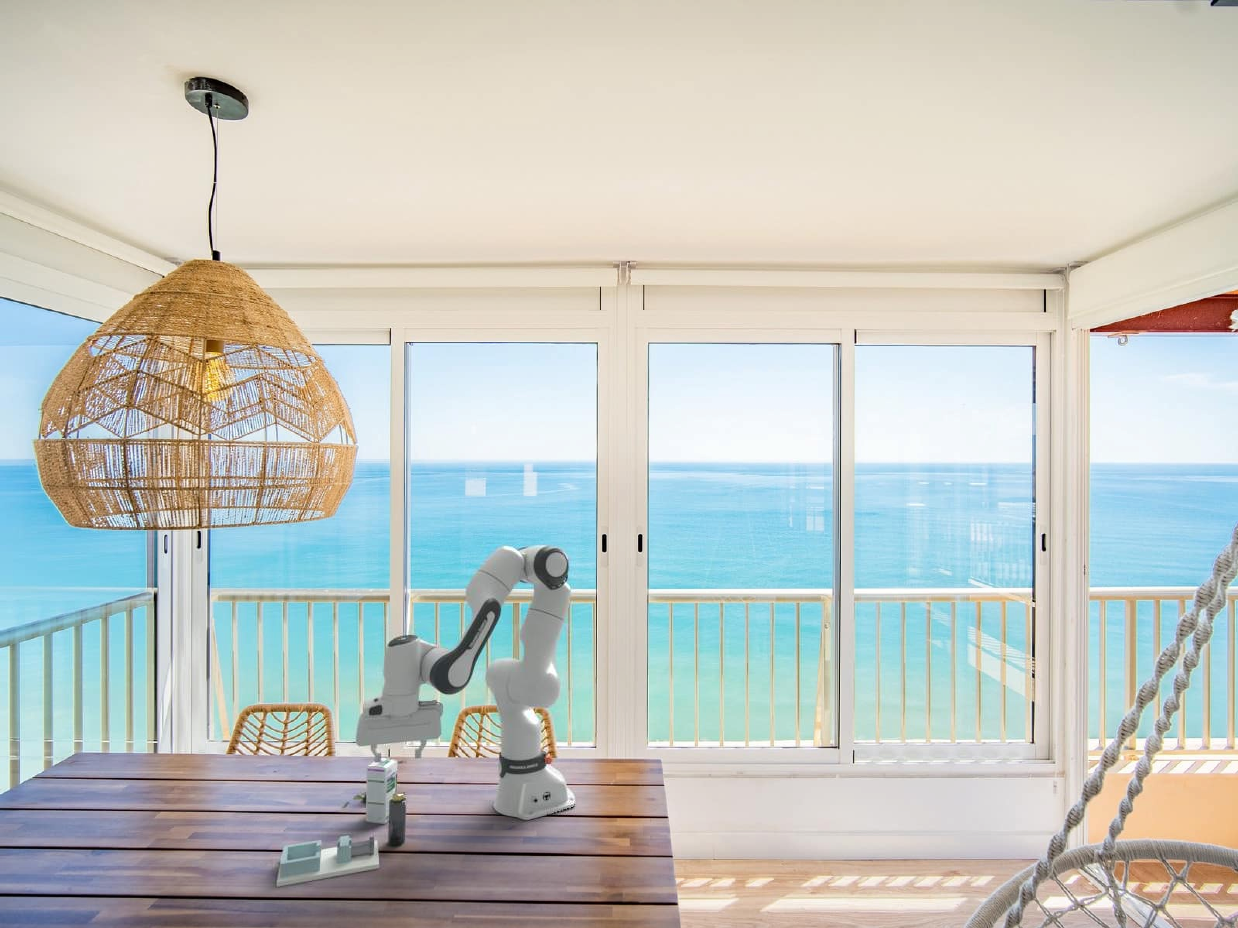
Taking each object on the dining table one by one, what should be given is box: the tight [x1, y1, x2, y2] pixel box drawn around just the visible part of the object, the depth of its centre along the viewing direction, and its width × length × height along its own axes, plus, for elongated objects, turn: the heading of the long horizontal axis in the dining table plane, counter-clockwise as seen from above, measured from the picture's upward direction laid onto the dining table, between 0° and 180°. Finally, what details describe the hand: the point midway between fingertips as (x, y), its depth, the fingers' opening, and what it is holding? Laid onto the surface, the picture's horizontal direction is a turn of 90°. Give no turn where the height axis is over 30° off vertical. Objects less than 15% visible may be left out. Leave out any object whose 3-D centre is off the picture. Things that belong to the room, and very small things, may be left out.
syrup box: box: [365, 757, 398, 825], centre depth 177 cm, size 6×6×14 cm
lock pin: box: [336, 836, 375, 857], centre depth 157 cm, size 8×3×3 cm, turn 112°
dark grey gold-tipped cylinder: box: [387, 791, 407, 847], centre depth 166 cm, size 4×4×12 cm
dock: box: [276, 835, 380, 888], centre depth 155 cm, size 21×11×5 cm, turn 112°
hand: (398, 759), depth 166 cm, fingers open, 8 cm apart
